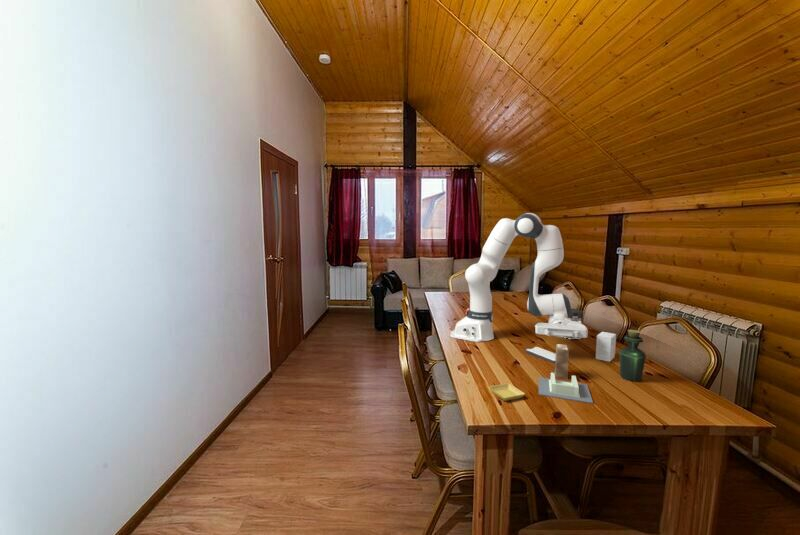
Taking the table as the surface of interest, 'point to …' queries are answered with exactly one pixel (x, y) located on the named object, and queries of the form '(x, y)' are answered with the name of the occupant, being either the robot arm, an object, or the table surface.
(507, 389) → the yellow square tray
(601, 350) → the small box
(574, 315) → the coffee can
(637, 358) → the potion bottle
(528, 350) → the smartphone
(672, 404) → the table surface
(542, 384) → the mat
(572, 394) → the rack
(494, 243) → the robot arm
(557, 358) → the tall wooden pillar
